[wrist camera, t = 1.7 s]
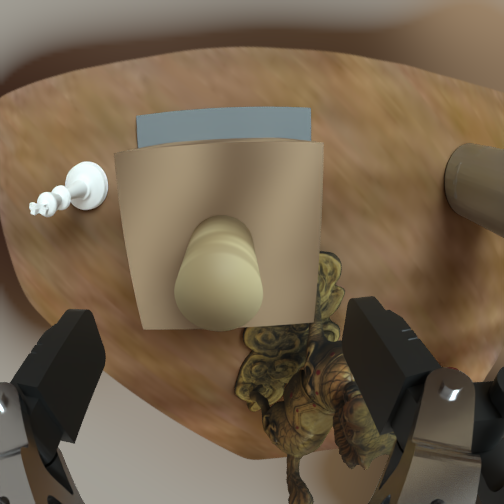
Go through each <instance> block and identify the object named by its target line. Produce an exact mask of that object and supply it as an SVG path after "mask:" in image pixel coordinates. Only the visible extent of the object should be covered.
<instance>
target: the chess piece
mask: <svg viewBox="0 0 504 504" xmlns="http://www.w3.org/2000/svg"><path fill="white" fill-rule="evenodd" d="M107 192H108V180H107V177H106V174H105V172H104V171H103V169H102V168H101V167H100V166H98V165H97V164H95V163H93V162H82V163H79V164H77V165H76V166H74V167H73V168H72V169H71V170H70V171H69V173H68V175H67V177H66V181H65V187H64V186H57V187H55V188H54V189H53V190H52V192H51V193H50V192H44V193H42V194H41V195H40V196H39V198H38V200H37V204H36V203H34V202H32V203H30V206H29V209H31V214H33V215H36V214H38V213H40V214H42V215H43V216H45V217H51V216H52V215H54V214H55V212H56V211H57V209H58V210H64V209H66V208H67V207H68V206H69V205H70V202H71V203H72V204H73V205H74V206H75V207H77V208H79V209H82V210H90V209H93V208H96V207H98V206H99V205H100V204H101V203H102V202H103V201H104V199H105V198H106V195H107Z"/></svg>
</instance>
